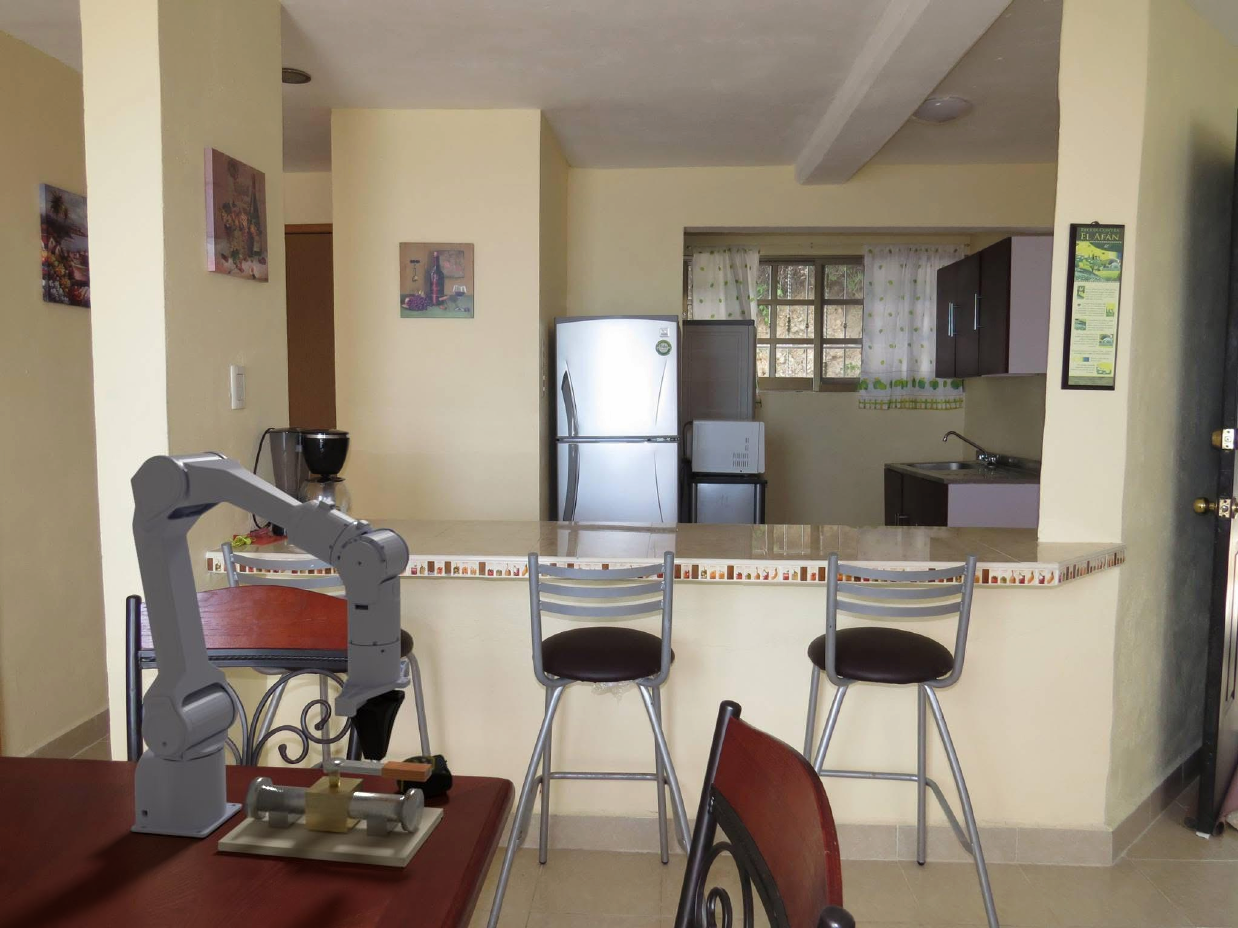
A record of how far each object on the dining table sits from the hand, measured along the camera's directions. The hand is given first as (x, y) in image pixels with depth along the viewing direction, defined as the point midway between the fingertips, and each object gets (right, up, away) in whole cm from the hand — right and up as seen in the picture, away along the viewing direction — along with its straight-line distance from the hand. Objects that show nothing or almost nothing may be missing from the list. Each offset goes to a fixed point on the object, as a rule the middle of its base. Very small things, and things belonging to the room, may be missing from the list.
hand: (375, 757), depth 101 cm
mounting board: (-6, -10, +4) cm, 12 cm away
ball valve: (-6, -10, +4) cm, 12 cm away
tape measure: (+3, -10, +16) cm, 19 cm away
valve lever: (-1, -3, +2) cm, 4 cm away
